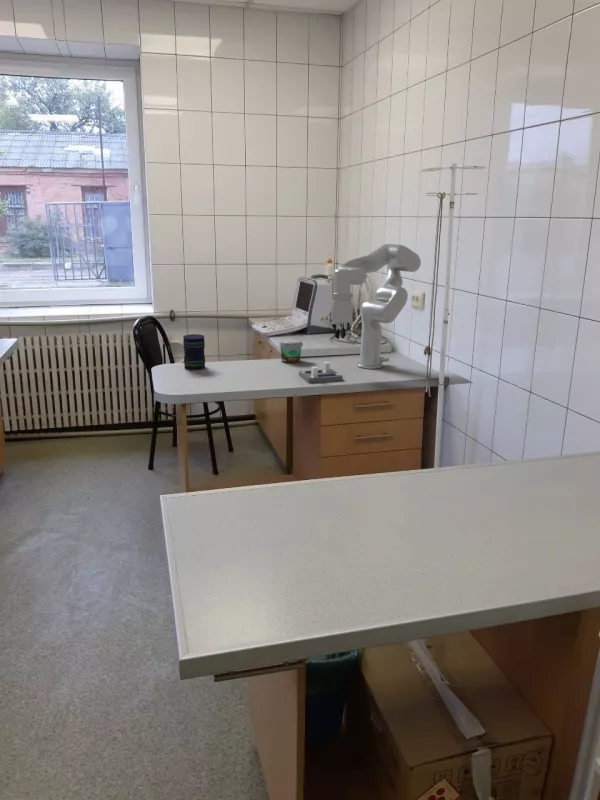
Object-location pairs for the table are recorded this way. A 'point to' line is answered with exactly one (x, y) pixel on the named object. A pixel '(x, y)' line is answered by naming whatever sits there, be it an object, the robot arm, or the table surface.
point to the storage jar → (194, 352)
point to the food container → (291, 352)
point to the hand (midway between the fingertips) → (339, 337)
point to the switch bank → (321, 376)
